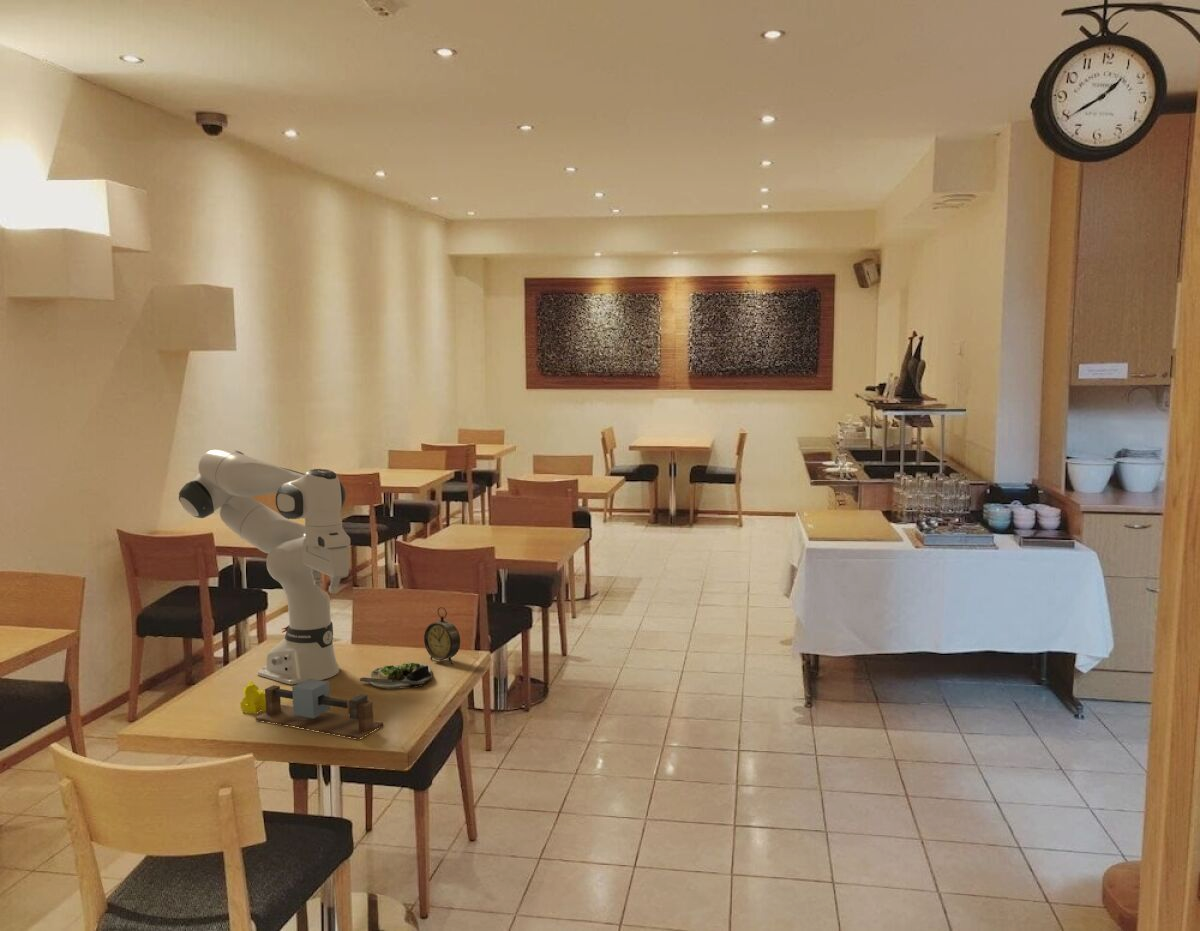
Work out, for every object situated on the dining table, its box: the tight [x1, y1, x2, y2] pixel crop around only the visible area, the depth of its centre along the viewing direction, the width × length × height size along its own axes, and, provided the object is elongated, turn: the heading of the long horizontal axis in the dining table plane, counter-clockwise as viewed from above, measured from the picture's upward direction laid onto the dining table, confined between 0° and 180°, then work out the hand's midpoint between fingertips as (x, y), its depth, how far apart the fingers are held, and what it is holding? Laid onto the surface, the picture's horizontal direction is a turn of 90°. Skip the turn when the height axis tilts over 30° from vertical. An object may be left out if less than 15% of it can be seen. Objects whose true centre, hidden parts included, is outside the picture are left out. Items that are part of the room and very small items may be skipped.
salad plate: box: [359, 662, 433, 690], centre depth 256 cm, size 19×18×5 cm
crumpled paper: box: [239, 679, 266, 714], centre depth 236 cm, size 6×8×8 cm
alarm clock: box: [423, 606, 461, 665], centre depth 270 cm, size 11×5×16 cm, turn 55°
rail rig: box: [255, 684, 384, 740], centre depth 226 cm, size 31×9×8 cm, turn 67°
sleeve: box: [291, 679, 331, 718], centre depth 227 cm, size 6×6×7 cm
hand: (325, 589), depth 234 cm, fingers open, 8 cm apart
